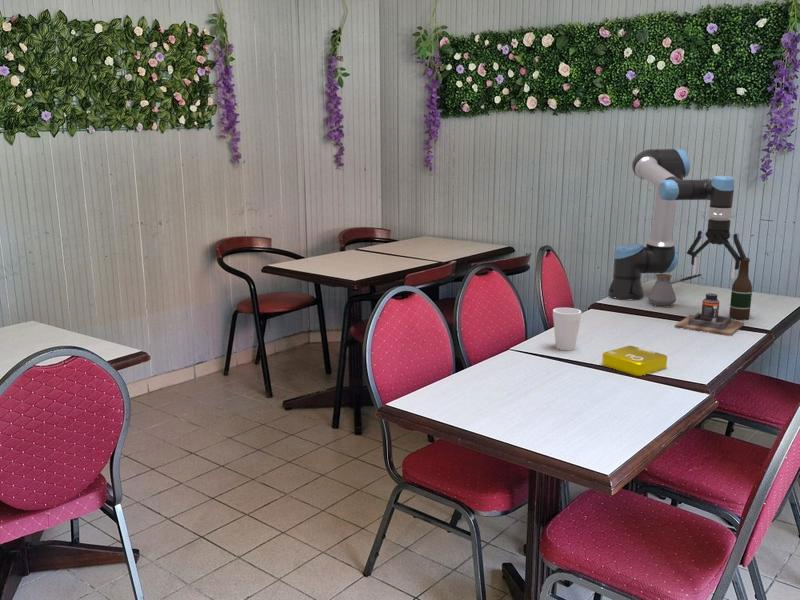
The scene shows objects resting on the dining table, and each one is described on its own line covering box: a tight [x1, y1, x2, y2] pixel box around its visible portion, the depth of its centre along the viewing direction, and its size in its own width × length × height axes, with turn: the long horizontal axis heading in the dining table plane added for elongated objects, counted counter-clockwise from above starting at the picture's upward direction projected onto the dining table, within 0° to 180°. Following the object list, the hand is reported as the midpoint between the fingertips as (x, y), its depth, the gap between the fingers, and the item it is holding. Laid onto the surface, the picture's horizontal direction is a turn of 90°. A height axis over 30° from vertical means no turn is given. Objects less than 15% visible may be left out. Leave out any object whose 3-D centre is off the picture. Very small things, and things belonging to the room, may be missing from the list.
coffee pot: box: [647, 273, 704, 307], centre depth 314 cm, size 21×12×15 cm, turn 54°
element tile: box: [601, 345, 668, 377], centre depth 236 cm, size 15×15×5 cm
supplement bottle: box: [701, 292, 720, 323], centre depth 282 cm, size 6×6×11 cm
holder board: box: [674, 312, 745, 337], centre depth 283 cm, size 20×20×3 cm
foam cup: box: [552, 307, 582, 351], centre depth 254 cm, size 10×9×13 cm
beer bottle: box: [728, 257, 753, 321], centre depth 293 cm, size 8×8×24 cm
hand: (713, 275), depth 280 cm, fingers open, 13 cm apart
